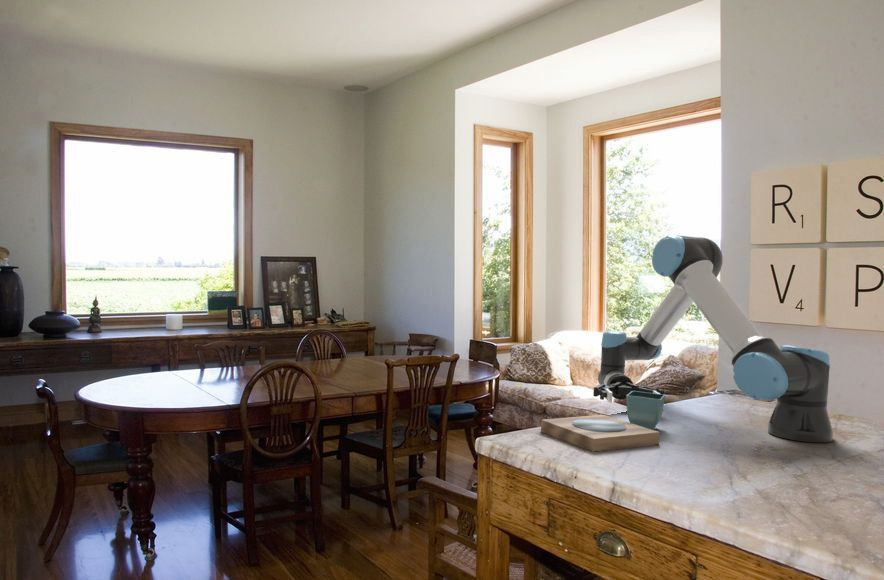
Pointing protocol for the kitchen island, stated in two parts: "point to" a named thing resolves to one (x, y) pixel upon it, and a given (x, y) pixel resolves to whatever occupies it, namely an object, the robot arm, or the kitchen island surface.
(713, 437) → the kitchen island surface
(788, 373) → the robot arm
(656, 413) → the flower pot
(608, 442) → the walnut plinth
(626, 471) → the kitchen island surface
